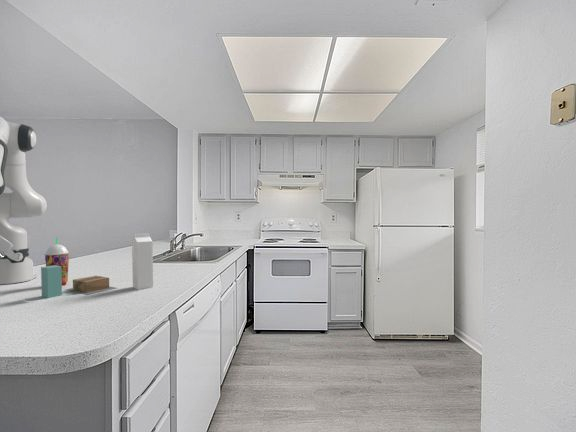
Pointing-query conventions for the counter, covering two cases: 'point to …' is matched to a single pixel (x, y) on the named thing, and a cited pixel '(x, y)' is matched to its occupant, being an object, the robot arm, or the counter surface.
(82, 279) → the base slab
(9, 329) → the counter surface
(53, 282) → the pillar
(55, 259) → the smoothie
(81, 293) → the mat
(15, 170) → the robot arm
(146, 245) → the milk
